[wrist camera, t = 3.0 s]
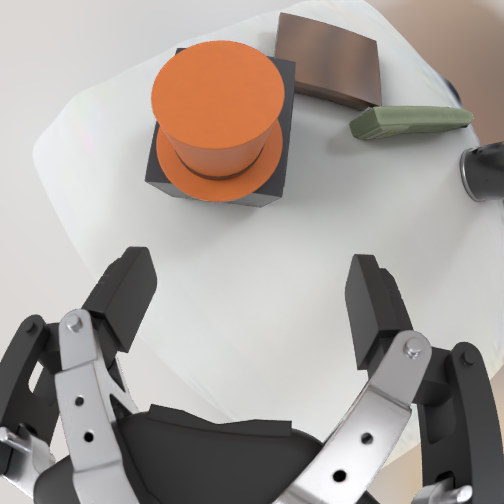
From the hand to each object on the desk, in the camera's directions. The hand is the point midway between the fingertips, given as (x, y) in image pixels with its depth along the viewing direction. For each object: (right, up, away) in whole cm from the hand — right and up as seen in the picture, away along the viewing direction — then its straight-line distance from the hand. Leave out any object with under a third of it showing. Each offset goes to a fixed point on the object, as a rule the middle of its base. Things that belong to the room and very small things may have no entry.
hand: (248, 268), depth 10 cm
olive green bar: (+25, +20, +22) cm, 39 cm away
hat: (-2, +9, +8) cm, 12 cm away
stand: (+10, +26, +20) cm, 34 cm away
